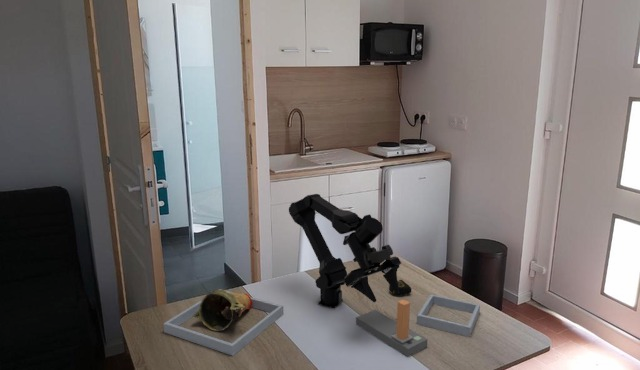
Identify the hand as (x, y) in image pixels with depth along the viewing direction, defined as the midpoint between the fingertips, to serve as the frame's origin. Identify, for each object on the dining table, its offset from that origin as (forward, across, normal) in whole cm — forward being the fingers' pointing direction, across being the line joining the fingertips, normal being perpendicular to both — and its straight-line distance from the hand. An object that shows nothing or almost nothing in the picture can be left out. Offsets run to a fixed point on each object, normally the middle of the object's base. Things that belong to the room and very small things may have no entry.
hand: (386, 297), depth 136 cm
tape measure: (-3, +25, +22) cm, 33 cm away
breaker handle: (+12, 0, +2) cm, 12 cm away
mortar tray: (-16, -34, +34) cm, 51 cm away
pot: (-16, -34, +35) cm, 51 cm away
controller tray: (+12, +23, +6) cm, 27 cm away
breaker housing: (+9, +2, +9) cm, 13 cm away
